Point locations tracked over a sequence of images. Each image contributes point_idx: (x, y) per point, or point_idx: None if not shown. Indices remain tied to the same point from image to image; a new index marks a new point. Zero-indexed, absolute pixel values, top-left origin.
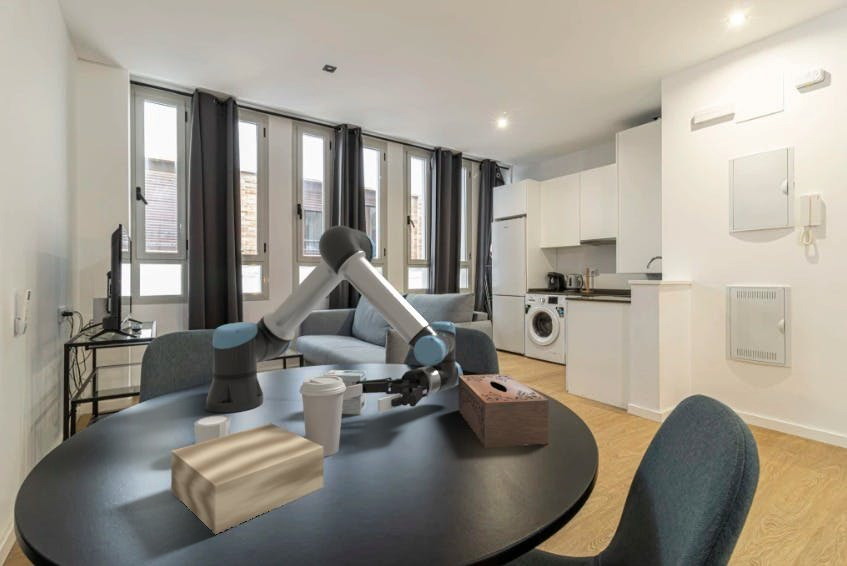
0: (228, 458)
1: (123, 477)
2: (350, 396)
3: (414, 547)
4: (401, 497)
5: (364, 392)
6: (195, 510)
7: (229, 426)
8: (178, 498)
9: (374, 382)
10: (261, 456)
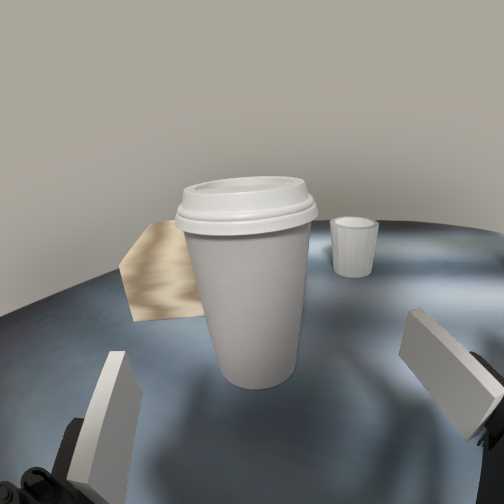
0: None
1: (325, 237)
2: (426, 381)
3: (4, 320)
4: (27, 355)
5: (485, 449)
6: None
7: (348, 239)
8: None
9: None
10: (169, 235)
